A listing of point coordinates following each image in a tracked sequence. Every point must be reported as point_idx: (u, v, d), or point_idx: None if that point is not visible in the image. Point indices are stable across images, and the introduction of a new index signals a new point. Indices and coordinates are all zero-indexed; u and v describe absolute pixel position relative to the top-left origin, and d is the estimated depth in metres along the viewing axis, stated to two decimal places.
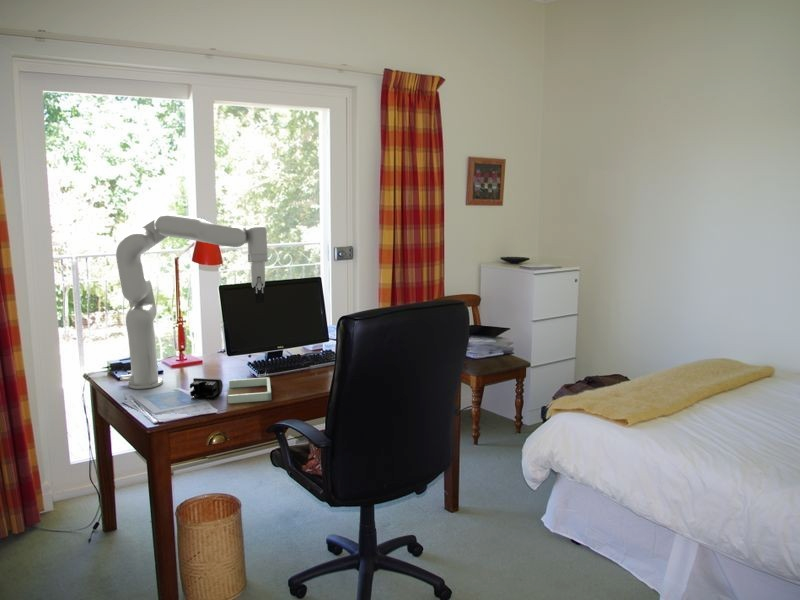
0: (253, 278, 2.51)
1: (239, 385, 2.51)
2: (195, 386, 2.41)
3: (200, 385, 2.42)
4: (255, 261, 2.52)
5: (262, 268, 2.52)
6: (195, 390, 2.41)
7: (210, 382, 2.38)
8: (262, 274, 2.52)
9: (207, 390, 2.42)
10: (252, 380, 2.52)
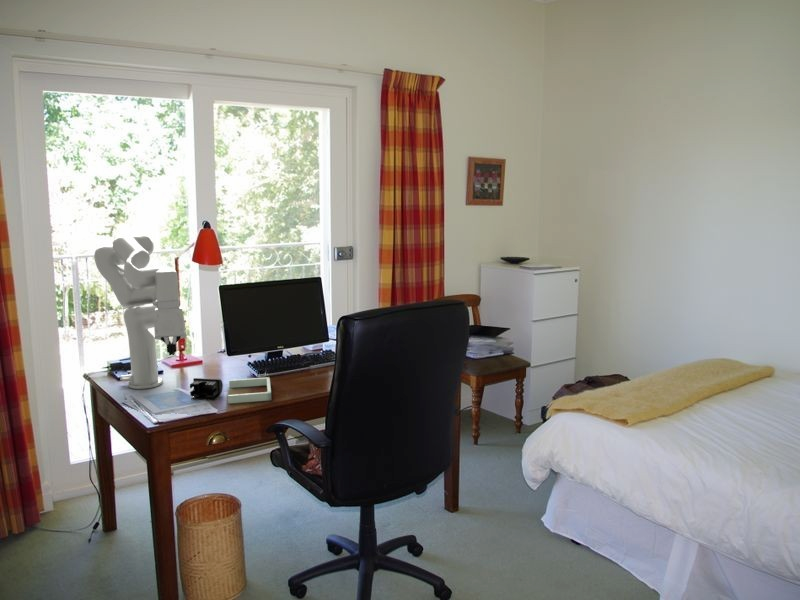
0: (183, 324, 2.32)
1: (239, 385, 2.51)
2: (195, 386, 2.41)
3: (200, 385, 2.42)
4: (178, 307, 2.32)
5: None
6: (195, 390, 2.41)
7: (210, 382, 2.38)
8: None
9: (207, 390, 2.42)
10: (252, 380, 2.52)
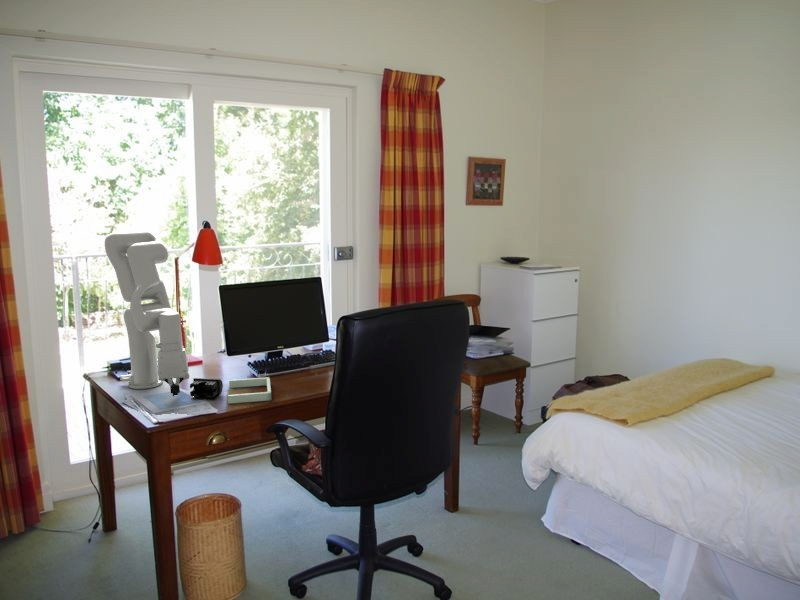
0: (186, 366, 2.35)
1: (239, 385, 2.51)
2: (195, 386, 2.41)
3: (200, 385, 2.42)
4: (182, 348, 2.35)
5: None
6: (195, 390, 2.41)
7: (210, 382, 2.38)
8: None
9: (207, 390, 2.42)
10: (252, 380, 2.52)
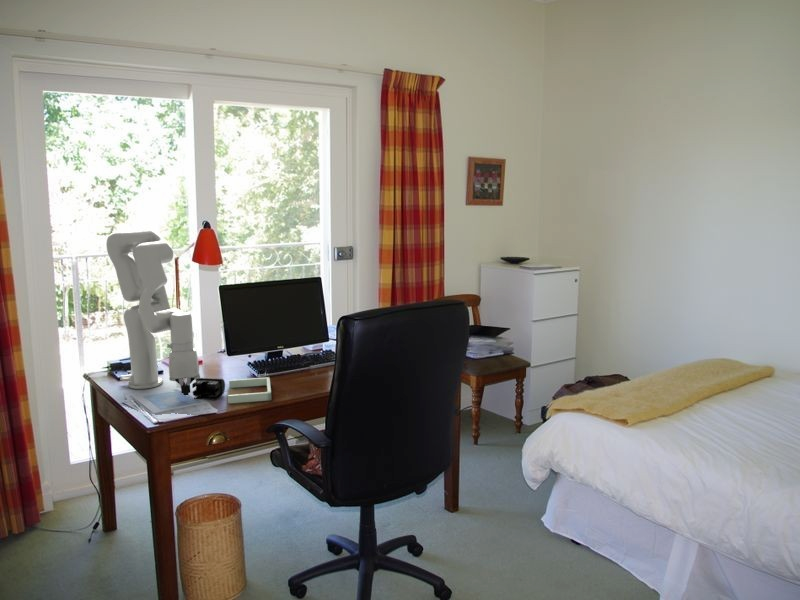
0: (197, 366, 2.36)
1: (239, 385, 2.51)
2: (197, 386, 2.41)
3: (202, 385, 2.42)
4: (193, 349, 2.36)
5: None
6: (197, 390, 2.41)
7: (212, 382, 2.38)
8: None
9: (209, 390, 2.42)
10: (252, 380, 2.52)
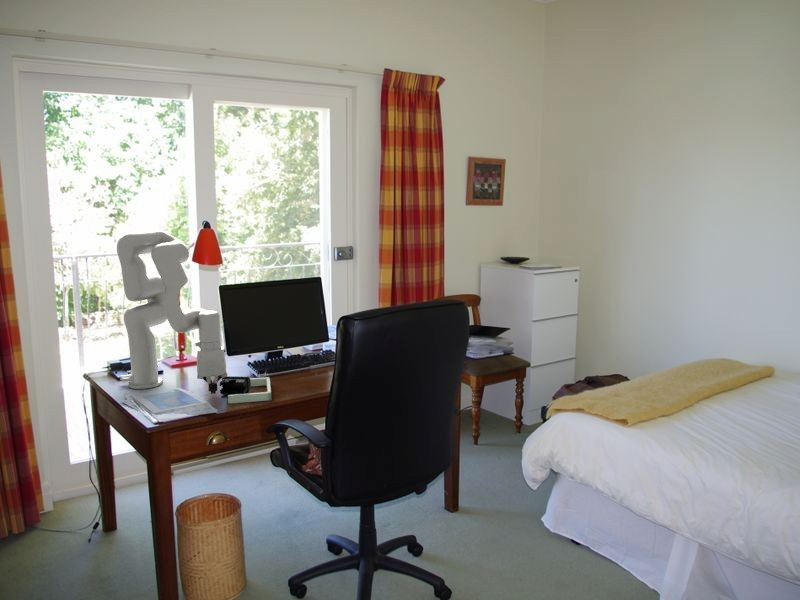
0: (225, 364, 2.38)
1: None
2: (224, 384, 2.43)
3: (228, 383, 2.44)
4: (220, 347, 2.38)
5: None
6: (224, 388, 2.43)
7: (240, 380, 2.41)
8: None
9: (235, 388, 2.44)
10: (252, 380, 2.52)
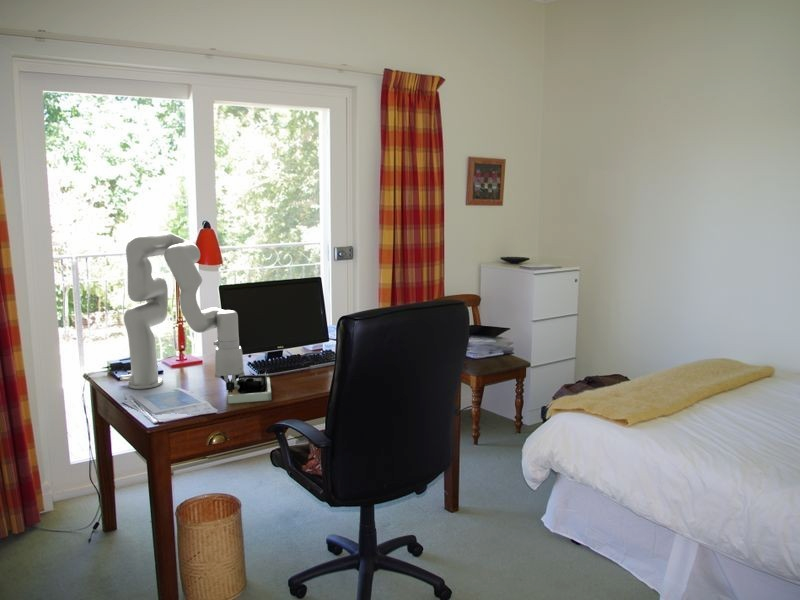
0: (242, 364, 2.40)
1: None
2: (240, 383, 2.44)
3: (245, 382, 2.45)
4: (238, 346, 2.39)
5: None
6: (240, 387, 2.44)
7: (257, 378, 2.42)
8: None
9: (252, 386, 2.46)
10: None
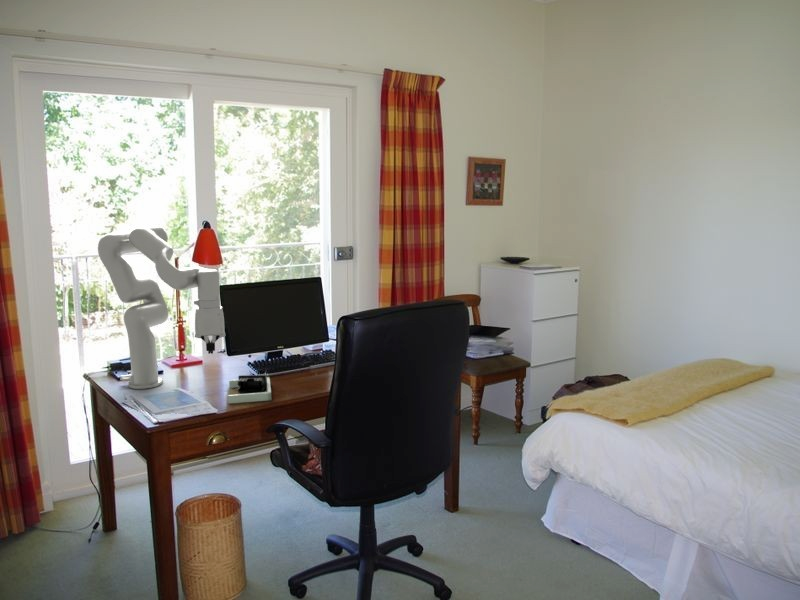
0: (223, 324, 2.35)
1: None
2: (240, 383, 2.44)
3: (245, 382, 2.45)
4: (219, 306, 2.35)
5: None
6: (241, 387, 2.44)
7: (257, 378, 2.42)
8: None
9: (252, 387, 2.46)
10: None
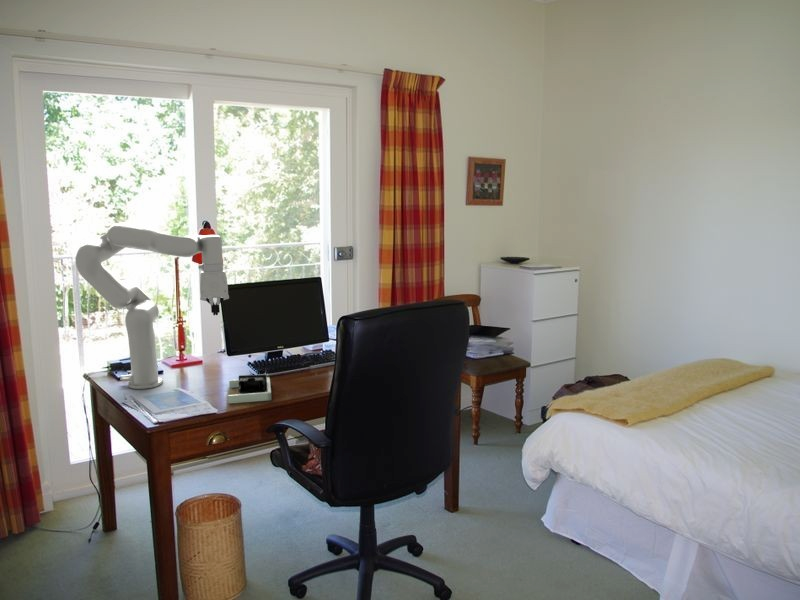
0: (227, 286, 2.50)
1: None
2: (241, 383, 2.44)
3: (245, 382, 2.45)
4: (222, 270, 2.49)
5: None
6: (241, 387, 2.44)
7: (258, 378, 2.43)
8: None
9: (252, 386, 2.46)
10: None
